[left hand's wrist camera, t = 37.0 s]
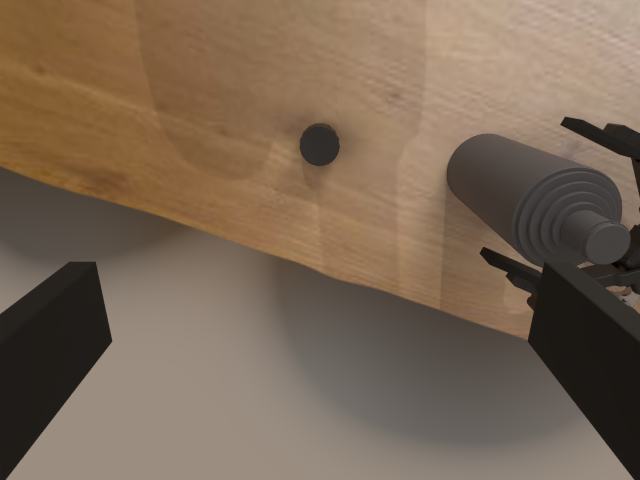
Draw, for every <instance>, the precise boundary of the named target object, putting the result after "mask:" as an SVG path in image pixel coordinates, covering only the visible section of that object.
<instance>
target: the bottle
mask: <svg viewBox="0 0 640 480" xmlns="http://www.w3.org/2000/svg"><path fill="white" fill-rule="evenodd" d="M447 180H448V184H449V187H450V189H451V190H452V192H453V193H454V195H455V196H456V197H457V198H459V199H460V200H461V201H462V202H463V203H464V204H465V205H466V206H467V207H469V208H470V209H471V210H472V211H473V212H474V213H475V214H476V215H477V216H478V217H480V218H481V219H482V220H483V221H484V222H485V223H486V224H487V225H488V226H490V227H491V228H492V229H493V230H494V231H495V232H496V233H497V234H498V235H499V236H501V237H502V238H503V239H504V240H505V241H506V242H507V243H508V244H509V245H511V246H512V247H513V248H514V249H515V250H516V251H517V252H518V253H519V254H521V255H522V256H523V257H524V258H525V259H526V260H528V261H529V262H530V263H532V264H534V265H536V266H539V267H542V268H543V266H544V262H571V263H573V264H574V265H575V266H577V265H580V264H582V263H584V262H587V261H589V262H591V263H593V264H600V265H606V264H610V263H613V262H615V261H617V260H619V259H620V258H621V257H622V256H623V255H624V254H625V253H626V252H627V250H628V248H629V245H630V239H631V237H630V232H629V231H628V229H627V228H626V227H625V226H624V225H622V224H620V221H621V216H622V200H621V196H620V193H619V191H618V188H617V187H616V185H615V184H614V182H613V181H612V180H611V179H610V178H609V177H608V176H606V175H605V174H604V173H602V172H600V171H598V170H595V169H593V168H590V167H587V166H584V165H581V164H578V163H575V162H573V161H570V160H567V159H564V158H561V157H558V156H555V155H553V154H550V153H547V152H544V151H541V150H538V149H535V148H533V147H530V146H527V145H524V144H521V143H518V142H515V141H513V140H510V139H507V138H504V137H501V136H498V135H494V134H482V135H477V136H474V137H472V138H470V139H468V140H466V141H465V142H464V143H462V144H461V145H460V146H459V147H458V148H457V149H456V150H455V152H454V153H453V155H452V157H451V159H450V161H449V164H448V168H447Z"/></svg>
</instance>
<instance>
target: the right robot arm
mask: <svg viewBox="0 0 640 480" xmlns="http://www.w3.org/2000/svg"><path fill="white" fill-rule="evenodd" d="M560 125H562V126H564V127H566V128H568V129H570V130H571V131H573V132H575V133H577V134H579V135H581V136H583V137H585V138H587V139H589V140H591V141H593V142H595V143H597V144H599V145H601V146H603V147H605V148H607V149H609V150H611V151H613V152H615V153H617V154H619V155H623V156H627V157H630V158H631V160H632V164H633V169H634V173H635V178H636V183H637V187H638V192H639V196H640V133H638V132H636V131H634V130H632V129H630V128H628V127H626V126H624V125H619V124H611V123H608V124H607V125H606V127H605V128H604V130H601V129H599V128H597V127H596V126H594V125H592V124H590V123H588V122H586V121H584V120H580V119H575V118H569V117H565V118H564V119H563V121H562V123H561V124H560ZM639 211H640V207H639ZM630 237H631V239H630V245H629V248H628V250H627V252H626V253H625V254H624V255H623V256H622V257H621V258H620V259H619V260H617V261H615V262H613V263H610V264H606V265H600V264H596V265H592V266H588V267H584V268H580V269H581V270H582V271H583V272H585V273H586V274H587V275H589V276H590V277H591V278H593V279H594V280H595V281H597V282H598V283H599V284H601V285H602V286H603V287H604V288H605V287H609V286H613V285H616V286H626V289H625V290H624V291H621V292H613V291H610V292H611V293H612V294H614V295H615V296H616V297H618V298H619V299H620V300H622V301H623V302H624V303H626V304H627V305H628V306H630V307H631V308H632V309H633V306H634V304H635V303H636V301H637V300H638V298H639V297H640V224H639V225H638V226H637V225H634V227H633V228H632V229H631V231H630ZM480 254H481V255H482V257H483V258H484V259H485V260H486V261H487V262H488V263H489V264H490V265H492V266H494V267H497V268H499V269H501V270H504V271H506V272H508V273H507V275H506V277H507V278H508V279H509V281H510V282H511V283H512V284H513V285H514V286H516V287H518V288H520V289H523V290H525V291H527V292H530V293H532V294H531V296H530V297H529V298H528V299H527V304H528V305H529V306H530V307H531V308H532V309H533V311H534V309H535V304H536V299H537V295H538V290H539V285H540V280H541V275H542V274H541V273H540V272H539V271H538V270H535V269H533V268H531V267H529V266H526V265H524V264H522V263H519V262H517V261H515V260H513V259H510V258H508V257H506V256H503V255H501V254H499V253H497V252H494V251H492V250H490V249H487V248H485V247H483V248H482V250H481V252H480ZM634 310H635V309H634ZM635 311H636V310H635ZM636 312H637V311H636Z"/></svg>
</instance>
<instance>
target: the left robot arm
mask: <svg viewBox="0 0 640 480" xmlns="http://www.w3.org/2000/svg"><path fill="white" fill-rule="evenodd" d="M111 342H112V338H111V333H110V328H109V323H108V318H107V314H106V309H105V304H104V299H103V295H102V290H101V285H100V280H99V276H98V271H97V266H96V262H69V263H67V264H66V265H65V266H63V267H62V268H61V269H59V270H58V271H57V272H55V273H54V274H53V275H51V276H50V277H49V278H47V279H46V280H45V281H43V282H42V283H41V284H39V285H38V286H37V287H36V288H34V289H33V290H32V291H30V292H29V293H28V294H26V295H25V296H24V297H22V298H21V299H20V300H18V301H17V302H16V303H14V304H13V305H12V306H10V307H9V308H8V309H6V310H5V311H4V312H2V313H1V314H0V480H6V479H7V477H8V476H9V475H10V473H11V472H12V471H13V470H14V468H15V467H16V466H17V464H18V463H19V462H20V460H21V459H22V458H23V457H24V455H25V454H26V453H27V451H28V450H29V449H30V447H31V446H32V445H33V444H34V442H35V441H36V440H37V438H38V437H39V436H40V434H41V433H42V432H43V431H44V429H45V428H46V427H47V425H48V424H49V423H50V422H51V420H52V419H53V418H54V416H55V415H56V414H57V412H58V411H59V410H60V409H61V407H62V406H63V405H64V403H65V402H66V401H67V400H68V398H69V397H70V396H71V394H72V393H73V392H74V390H75V389H76V388H77V387H78V385H79V384H80V383H81V381H82V380H83V379H84V377H85V376H86V375H87V374H88V372H89V371H90V370H91V368H92V367H93V366H94V365H95V363H96V362H97V361H98V359H99V358H100V357H101V355H102V354H103V353H104V352H105V350H106V349H107V348H108V346H109V345H110V344H111ZM528 342H529V344H530V345H531V346H532V348H533V349H534V350H535V351H536V353H537V354H538V355H539V357H540V358H541V359H542V361H543V362H544V363H545V365H546V366H547V367H548V368H549V370H550V371H551V372H552V374H553V375H554V376H555V377H556V379H557V380H558V381H559V383H560V384H561V385H562V387H563V388H564V389H565V390H566V392H567V393H568V394H569V396H570V397H571V398H572V400H573V401H574V402H575V403H576V405H577V406H578V407H579V409H580V410H581V411H582V412H583V414H584V415H585V416H586V418H587V419H588V420H589V422H590V423H591V424H592V425H593V427H594V428H595V429H596V431H597V432H598V433H599V434H600V436H601V437H602V438H603V440H604V441H605V442H606V444H607V445H608V446H609V448H610V449H611V450H612V451H613V453H614V454H615V455H616V457H617V458H618V459H619V460H620V462H621V463H622V464H623V466H624V467H625V468H626V469H627V471H628V472H629V473H630V475H631V476H632V477H633V479H634V480H640V314H639V313H638V312H636V311H635V310H634V309H632V308H631V307H630V306H628V305H627V304H626V303H624V302H623V301H622V300H620V299H619V298H618V297H616V296H615V295H614V294H612V293H611V292H610V291H608V290H607V289H606V288H604V287H603V286H602V285H601V284H599V283H598V282H597V281H595V280H594V279H593V278H591V277H590V276H589V275H587V274H586V273H585V272H583V271H582V270H581V269H579V268H578V267H577V266H575V265H574V264H573V263H571V262H544V266H543V271H542V275H541V280H540V285H539V290H538V295H537V299H536V304H535V309H534V314H533V318H532V323H531V328H530V333H529V338H528Z"/></svg>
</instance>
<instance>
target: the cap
mask: <svg viewBox="0 0 640 480" xmlns="http://www.w3.org/2000/svg"><path fill="white" fill-rule="evenodd" d="M338 140H339V139H338V137H337V135H336V133H335V130H333V129H332V128H331V127H330V126H328V125H325V124H323V123H322V124H314V125H312V126H309V127H308V128H307V129H306V130H305V131H304V132H303V135H302V138H301V140H300V141H301V142H300V150H301V153H302V155H303V157H304V158H305V160H306V161H308V162H309V163H311V164H313V165H317V166H323V165H326V164H329V163H330V162H332V161H333V160H334V159H335V157H336V156H337V154H338V151H339V147H340V146H339V141H338Z"/></svg>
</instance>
